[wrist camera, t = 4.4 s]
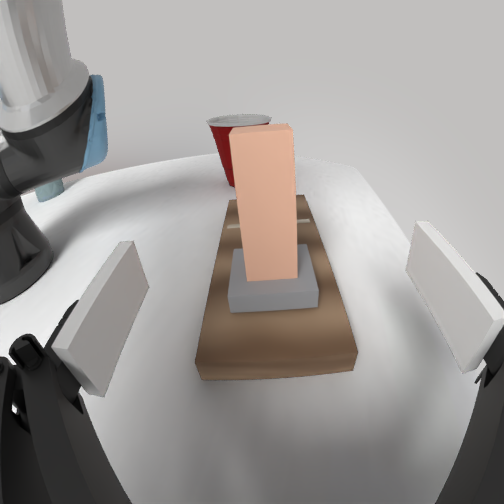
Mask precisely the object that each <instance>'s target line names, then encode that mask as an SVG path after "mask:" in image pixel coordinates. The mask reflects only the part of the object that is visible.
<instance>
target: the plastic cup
mask: <svg viewBox="0 0 504 504" xmlns="http://www.w3.org/2000/svg"><path fill="white" fill-rule="evenodd" d="M270 121H271V117H269V116H265V115H255V114H242V115H227V116H221V117H216V118H212V119H209V120H208V121H207V123H208V125H209V126H210V128H211V131H212V133H213V137H214V139H215V142H216V145H217V149H218V152H219V155H220V159H221V162H222V165H223V167H224V170H225V174H226V177H227V180H228V182H229V184H230V186H233V187H235V182H234V174H233V165H232V157H231V149H230V140H229V134H230V132H231V130H232V129H233V128H235V127H245V126H256V125H268V124H269V122H270Z"/></svg>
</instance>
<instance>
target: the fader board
mask: <svg viewBox="0 0 504 504" xmlns="http://www.w3.org/2000/svg"><path fill="white" fill-rule="evenodd" d="M296 214H297V245H299V244H307V247H308V251H309V255H310V258H311V262H312V266H313V270H314V274H315V278H316V281H317V285H318V289H319V295H318V307H314V308H302V309H289V310H274V311H258V312H239V313H231V312H230V307H229V302H228V289H229V281H230V274H231V266H232V259H233V251H234V249H242V248H243V246H242V238H241V230H240V222H239V214H238V206H237V200H229V204H228V208H227V212H226V217H225V221H224V225H223V230H222V234H221V238H220V243H219V247H218V252H217V256H216V261H215V265H214V270H213V275H212V279H211V284H210V289H209V294H208V298H207V303H206V308H205V313H204V318H203V323H202V328H201V333H200V338H199V343H198V348H197V354H196V359H195V364H196V367H197V369H198V372H199V374H200V376H201V379H202V380H249V379H272V378H288V377H300V376H311V375H321V374H330V373H338V372H346V371H353V368H354V365H355V361H356V357H357V354H358V351H357V347H356V344H355V340H354V337H353V334H352V330H351V327H350V324H349V321H348V317H347V314H346V311H345V308H344V305H343V302H342V298H341V295H340V292H339V289H338V286H337V283H336V280H335V277H334V274H333V272H332V269H331V266H330V263H329V260H328V257H327V254H326V252H325V249H324V246H323V243H322V241H321V238H320V235H319V232H318V230H317V227H316V224H315V222H314V219H313V216H312V214H311V211H310V209H309V206H308V204H307V201H306V199H305V196H304V195H296Z"/></svg>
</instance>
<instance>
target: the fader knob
mask: <svg viewBox="0 0 504 504" xmlns="http://www.w3.org/2000/svg"><path fill="white" fill-rule="evenodd" d="M229 140H230V149H231V157H232V165H233V174H234V182H235V190H236V198H237V206H238V214H239V222H240V230H241V238H242V246H243V248H242V249H234V251H233V259H232V266H231V274H230V281H229V289H228V302H229V307H230V312H231V313H239V312H258V311H274V310H289V309H302V308H314V307H318V295H319V289H318V285H317V281H316V278H315V274H314V270H313V266H312V262H311V258H310V255H309V251H308V247H307V244H299V245H297V214H296V185H295V162H294V145H293V130H292V128H291V127H290V126H289V125H288V124H270V125H256V126H245V127H235V128H233V129H232V130H231V132H230V134H229Z"/></svg>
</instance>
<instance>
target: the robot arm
mask: <svg viewBox="0 0 504 504" xmlns="http://www.w3.org/2000/svg"><path fill="white" fill-rule="evenodd" d="M0 98H1V101H0V304H1V303H3V302H6V301H8V300H10V299H12V298H13V297H15V296H17V295H18V294H20V293H21V292H23V291H24V290H25V289H27V288H28V287H29V286H30V285H32V284H33V283H34V282H35V281H36V280H37V279H38V278H39V277H40V276H41V275H42V274H43V273H44V272H45V271H46V269H47V268H48V266H49V265H50V263H51V261H52V259H53V251H52V249H51V246H50V244H49V241H48V240H47V238H46V237H45V235H44V234H43V233H42V232H41V230H40V229H39V228H38V227H37V225H36V224H35V223H34V222H33V220H32V219H31V218H30V216H29V215H28V214H27V212H26V211H25V209H24V206H23V203H22V200H21V197H20V195H21V194H23V193H25V192H27V191H30V190H33V189H35V188H38V187H40V186H43V185H45V184H48V183H51V182H53V181H56V180H59V179H62V178H64V177H67V176H70V175H73V174H76V173H81V172H83V171H84V170H85V169H87V168H89V167H92V166H94V165H97V164H99V163H101V162H102V161H103V160H104V159H105V157H106V156H107V152H108V140H107V126H106V117H105V97H104V85H103V78H102V76H101V75H90V76H89V72H88V69H87V67H86V65H85V64H84V63H83V62H81V61H79V60H75V59H72V58H71V53H70V48H69V43H68V38H67V33H66V27H65V20H64V13H63V5H62V0H0ZM406 272H407V274H408V275H409V277H410V278H411V280H412V282H413V283H414V285H415V286H416V288H417V290H418V291H419V293H420V295H421V296H422V298H423V300H424V302H425V303H426V305H427V307H428V308H429V310H430V312H431V314H432V316H433V317H434V319H435V321H436V323H437V325H438V326H439V328H440V330H441V332H442V334H443V336H444V338H445V340H446V342H447V343H448V345H449V347H450V349H451V351H452V353H453V355H454V357H455V360H456V362H457V364H458V366H459V368H460V370H461V372H462V374H463V373H466V372H469V371H472V370H475V369H477V367H478V366H479V364H480V363H481V361H482V359H483V358H484V360H485V362H486V364H487V365H486V366H485V368H484V369H483V370H482V372H481V373H480V375H479V376H478V377H477V379H476V381H475V383H476V384H477V382H478V381H479V380H480V379H481V382H480V386H479V391H478V394H477V398H476V402H475V406H474V409H473V413H472V416H471V419H470V422H469V425H468V429H467V431H466V434H465V437H464V440H463V443H462V445H461V448H460V451H459V453H458V456H457V458H456V461H455V463H454V465H453V468H452V470H451V472H450V475H449V477H448V479H447V481H446V483H445V485H444V487H443V489H442V491H441V493H440V495H439V497H438V499H437V501H436V503H435V504H504V301H503V300H502V298H501V297H500V296H498V293H497V292H496V291H495V289H493V287H492V285H491V284H490V283H489V282H488V280H487V279H485V278H484V277H483V276H481V275H480V274H478V273H475V272H474V271H473V270H472V268H471V267H470V266H469V265H468V264H467V263H466V262H465V260H464V259H463V258H462V257H461V256H460V255H459V253H458V252H457V251H456V250H455V249H454V248H453V247H452V246H451V245H450V243H449V242H448V241H447V240H446V239H445V238H444V237H443V236H442V235H441V234H440V233H439V232H438V231H437V230H436V229H435V228H434V227H433V226H432V225H431V224H430V223H429V222H428V221H419V222H415V226H414V232H413V237H412V242H411V247H410V252H409V256H408V261H407V265H406ZM148 289H149V285H148V282H147V280H146V277H145V274H144V271H143V268H142V265H141V262H140V259H139V256H138V253H137V250H136V247H135V244H134V241H125V242H119V244H118V245H117V246H116V248H115V249H114V250H113V252H112V253H111V255H110V256H109V257H108V259H107V260H106V262H105V263H104V264H103V266H102V267H101V269H100V270H99V271H98V273H97V274H96V276H95V277H94V279H93V280H92V282H91V283H90V285H89V286H88V288H87V289H86V291H85V292H84V294H83V295H82V297H81V298H80V300H76V301H75V302H74V303H73V304H72V305H71V306H70V307H69V308H68V309H67V311H66V312H65V314H64V315H63V319H61V320H60V322H59V323H58V326H57V327H56V328H55V330H54V332H53V333H52V335H51V337H50V338H49V340H48V342H47V343H46V345H45V347H44V349H43V347H42V346H41V345H40V343H39V342H38V340H37V339H36V337H35V336H34V335H32V334H25V335H22V336H20V337H19V338H17V339H16V340H15V341H14V342H13V344H12V345H11V347H10V349H9V355H10V357H11V358H12V359H13V360H14V362H15V363H16V364H17V365H12V364H11V362H10V361H9V360H8V359H7V358H6V357H0V504H132V503H131V501H130V500H129V498H128V496H127V494H126V493H125V491H124V489H123V487H122V486H121V484H120V482H119V480H118V478H117V476H116V475H115V473H114V471H113V469H112V467H111V465H110V463H109V461H108V459H107V457H106V454H105V452H104V450H103V448H102V446H101V444H100V441H99V439H98V437H97V434H96V432H95V430H94V427H93V425H92V422H91V420H90V417H89V415H88V412H87V409H86V407H85V404H84V401H83V398H82V396H81V395H80V393H79V389H80V387H81V386H82V387H83V388H84V390H85V391H86V392H87V393H88V394H90V395H95V396H100V397H105V394H106V391H107V388H108V386H109V383H110V380H111V378H112V375H113V372H114V370H115V367H116V364H117V362H118V359H119V357H120V354H121V352H122V349H123V347H124V344H125V342H126V339H127V337H128V335H129V332H130V330H131V327H132V325H133V323H134V320H135V318H136V316H137V314H138V311H139V309H140V307H141V304H142V302H143V300H144V298H145V295H146V293H147V291H148ZM12 404H13V405H14V406H15V407H16V408H17V413H16V414H15V413H14V412H13V411H12Z"/></svg>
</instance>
